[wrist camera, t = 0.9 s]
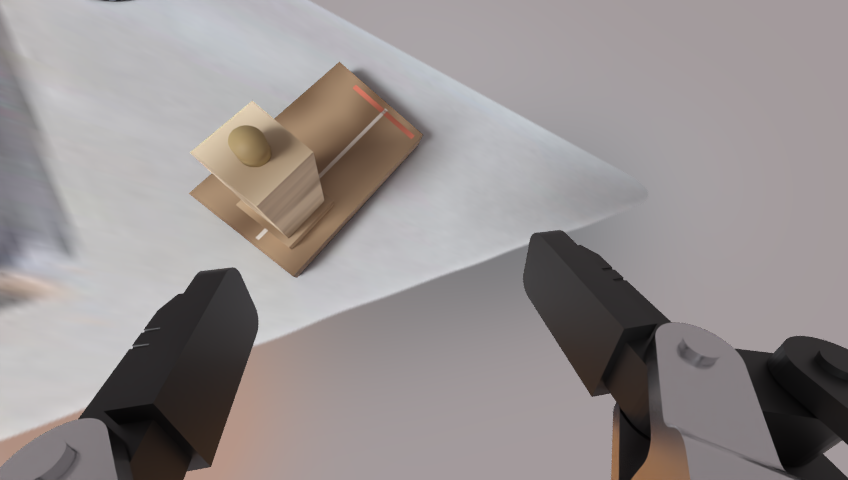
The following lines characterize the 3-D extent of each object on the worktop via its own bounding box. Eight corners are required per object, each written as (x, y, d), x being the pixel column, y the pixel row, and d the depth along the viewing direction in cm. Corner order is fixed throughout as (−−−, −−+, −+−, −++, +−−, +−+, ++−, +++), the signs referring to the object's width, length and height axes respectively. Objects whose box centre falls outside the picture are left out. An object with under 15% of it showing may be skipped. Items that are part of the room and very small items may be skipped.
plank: (200, 200, 26) (189, 193, 24) (339, 76, 31) (339, 61, 29) (296, 277, 27) (292, 276, 25) (418, 144, 32) (423, 134, 30)
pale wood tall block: (240, 208, 25) (158, 141, 14) (291, 161, 26) (252, 66, 15) (291, 249, 25) (249, 214, 14) (338, 200, 27) (332, 134, 16)
